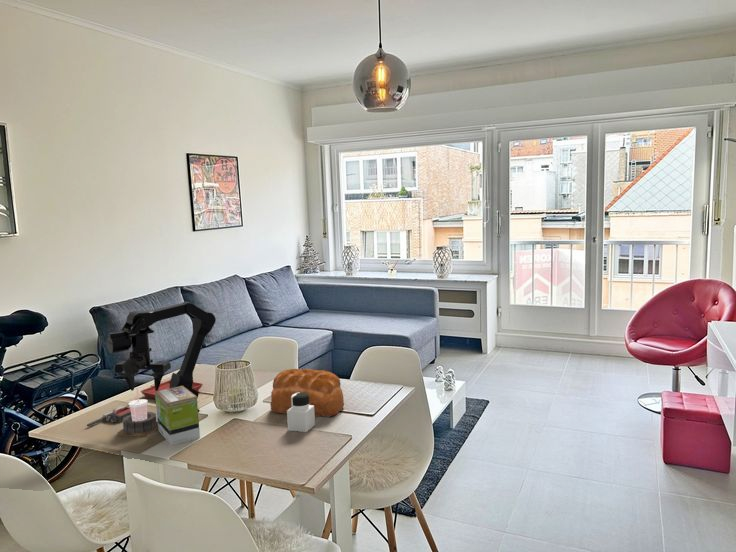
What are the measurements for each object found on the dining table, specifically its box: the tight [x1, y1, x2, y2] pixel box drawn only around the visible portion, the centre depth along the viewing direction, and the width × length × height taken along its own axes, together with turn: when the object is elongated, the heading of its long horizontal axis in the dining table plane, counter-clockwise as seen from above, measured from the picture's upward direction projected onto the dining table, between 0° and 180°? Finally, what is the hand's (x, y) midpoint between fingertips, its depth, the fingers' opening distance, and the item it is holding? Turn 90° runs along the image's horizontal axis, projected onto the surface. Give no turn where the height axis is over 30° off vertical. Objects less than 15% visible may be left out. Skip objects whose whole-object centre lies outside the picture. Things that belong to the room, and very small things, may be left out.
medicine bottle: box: [286, 392, 316, 433], centre depth 193 cm, size 7×7×12 cm
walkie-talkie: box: [86, 403, 131, 427], centre depth 208 cm, size 9×4×20 cm
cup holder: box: [116, 411, 158, 437], centre depth 197 cm, size 11×11×4 cm
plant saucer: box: [139, 379, 204, 400], centre depth 235 cm, size 18×18×3 cm
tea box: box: [155, 386, 201, 446], centre depth 190 cm, size 15×10×15 cm
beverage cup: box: [128, 387, 149, 422], centre depth 196 cm, size 6×6×14 cm
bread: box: [270, 368, 345, 417], centre depth 211 cm, size 14×26×16 cm, turn 72°
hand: (144, 390), depth 200 cm, fingers open, 9 cm apart
